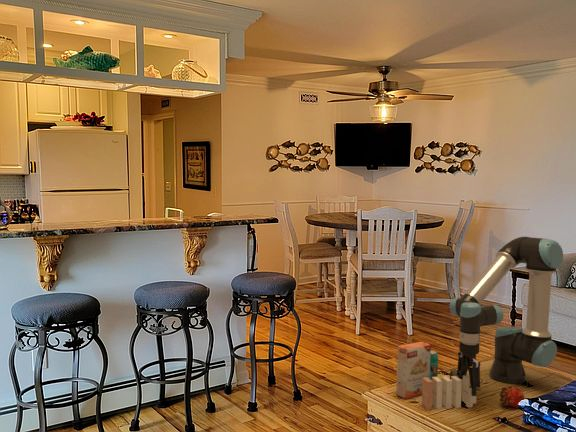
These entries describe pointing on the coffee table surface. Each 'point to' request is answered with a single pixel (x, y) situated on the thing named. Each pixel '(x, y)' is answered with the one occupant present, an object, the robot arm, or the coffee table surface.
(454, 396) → the domino
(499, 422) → the coffee table surface
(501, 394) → the dragon fruit
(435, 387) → the domino
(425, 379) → the domino
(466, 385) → the domino
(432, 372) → the beverage can
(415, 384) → the cracker box
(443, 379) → the domino
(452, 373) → the rhino figurine
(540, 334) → the robot arm
